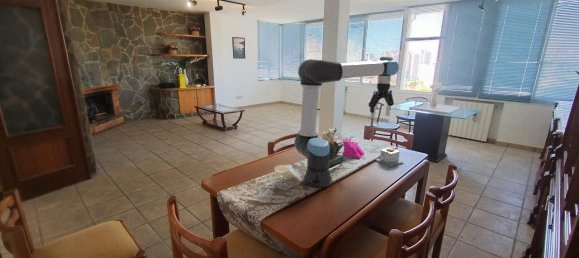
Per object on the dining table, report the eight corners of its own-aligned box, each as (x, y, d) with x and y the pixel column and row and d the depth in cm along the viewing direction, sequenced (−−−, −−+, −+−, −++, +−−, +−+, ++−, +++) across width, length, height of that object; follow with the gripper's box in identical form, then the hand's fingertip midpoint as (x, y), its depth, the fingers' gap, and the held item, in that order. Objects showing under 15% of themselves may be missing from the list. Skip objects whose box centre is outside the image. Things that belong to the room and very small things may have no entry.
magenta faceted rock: (342, 155, 185) (343, 141, 182) (347, 151, 193) (348, 137, 190) (359, 159, 179) (360, 144, 176) (364, 154, 187) (365, 140, 184)
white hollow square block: (390, 164, 168) (391, 153, 166) (379, 159, 174) (381, 149, 173) (398, 161, 172) (399, 151, 170) (388, 157, 179) (389, 147, 177)
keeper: (390, 167, 166) (392, 153, 163) (375, 160, 175) (376, 148, 173) (402, 163, 172) (404, 150, 169) (387, 157, 181) (388, 144, 179)
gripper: (374, 84, 154) (370, 120, 160) (402, 82, 167) (398, 115, 173) (364, 82, 161) (361, 117, 166) (392, 81, 173) (388, 113, 179)
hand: (380, 116), depth 169 cm, fingers open, 13 cm apart
